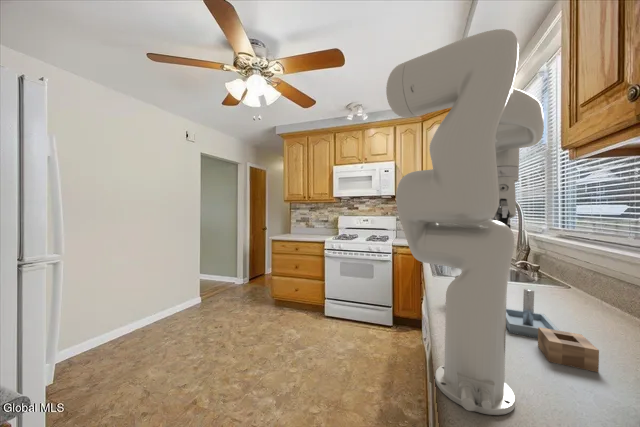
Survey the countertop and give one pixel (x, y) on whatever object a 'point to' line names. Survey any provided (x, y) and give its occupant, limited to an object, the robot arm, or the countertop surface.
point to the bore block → (568, 349)
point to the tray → (517, 327)
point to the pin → (528, 307)
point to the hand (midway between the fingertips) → (499, 240)
